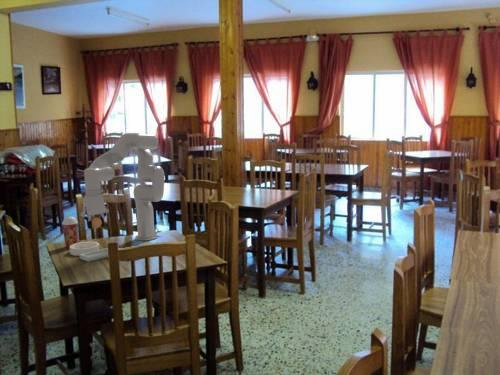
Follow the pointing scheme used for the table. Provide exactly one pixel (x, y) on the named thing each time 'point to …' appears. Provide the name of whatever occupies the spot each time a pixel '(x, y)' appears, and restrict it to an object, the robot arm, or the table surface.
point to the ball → (96, 222)
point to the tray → (94, 255)
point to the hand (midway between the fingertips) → (95, 227)
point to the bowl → (83, 247)
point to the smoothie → (70, 230)
